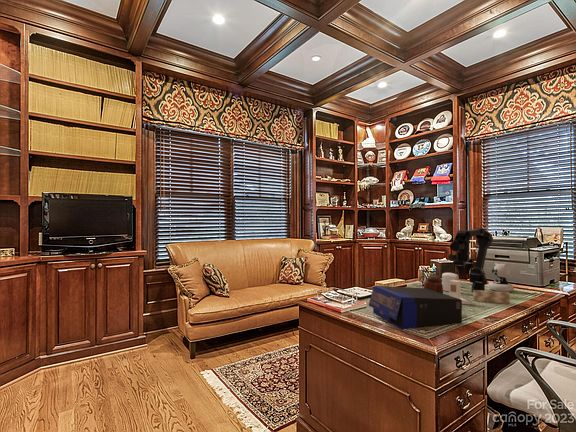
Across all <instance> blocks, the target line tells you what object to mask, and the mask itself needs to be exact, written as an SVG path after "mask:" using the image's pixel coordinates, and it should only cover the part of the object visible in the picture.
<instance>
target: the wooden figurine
mask: <svg viewBox="0 0 576 432" xmlns="http://www.w3.org/2000/svg"><path fill="white" fill-rule="evenodd" d="M423 288H427V289H430V290H433V291H436V292H440V293H443V294H444V291H443V285H442V277H440V276H439V275H434V274H432V275H429V276H428V277H426V279H425V280H424V282H423Z"/></svg>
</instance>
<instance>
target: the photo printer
mask: <svg viewBox="0 0 576 432" xmlns="http://www.w3.org/2000/svg"><path fill="white" fill-rule="evenodd" d="M459 277H460V276H459V274H456V273H453V272H443V273H442V275H441V279H442V285H443V292H449V288H450V281H451V280H457V281H460V280H459V279H460V278H459Z"/></svg>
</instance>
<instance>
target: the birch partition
mask: <svg viewBox="0 0 576 432" xmlns="http://www.w3.org/2000/svg"><path fill="white" fill-rule="evenodd" d="M510 299H511V294H510V292H499V291H494V290H492V291H491V290H485V291H481V290H474V292H473V301H476V302H485V301H486V302H487V303H498V304H499V303H501V304H510V303H511V300H510Z"/></svg>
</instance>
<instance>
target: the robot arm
mask: <svg viewBox="0 0 576 432" xmlns="http://www.w3.org/2000/svg"><path fill="white" fill-rule="evenodd" d="M473 237H475V239H476V240H477V241H476V242H477V244H478V248H477V254H476V260H475V259H474V258H471V257H470V254H471V251H470V244H471V243H472V242H471V241H470V240H471V239H473ZM452 241H453V242H451V243H450V245H449V248H450V250H451V251H453V252H456V254H453V253H450V254H448V260H449V261H450V262H452V265H453V267H455V268H457V271H458V276H459V277H463V274H464V273H465V275H468V279H469V283H471V284H472V285H471V292H472V293H474V290H481V291H486V290H485V289H486V288H485V287H486V285H487V286H488V283H489V282H488V279H487V278H486V273H485V270H484V267H485V262H486V257H487V253H488V248H490V246H492V244H493V241H494V237H493V236H492V234H491V233H490V232H489V231H487V230H486V228H483V227H476V228H472V229H469V230H464V229H463V230H458V231H456V234H455V237H454V238H453V240H452ZM473 265H474V267H473ZM472 267H473V268H472Z"/></svg>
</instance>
